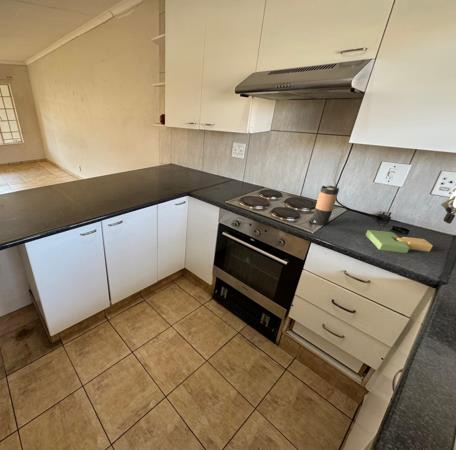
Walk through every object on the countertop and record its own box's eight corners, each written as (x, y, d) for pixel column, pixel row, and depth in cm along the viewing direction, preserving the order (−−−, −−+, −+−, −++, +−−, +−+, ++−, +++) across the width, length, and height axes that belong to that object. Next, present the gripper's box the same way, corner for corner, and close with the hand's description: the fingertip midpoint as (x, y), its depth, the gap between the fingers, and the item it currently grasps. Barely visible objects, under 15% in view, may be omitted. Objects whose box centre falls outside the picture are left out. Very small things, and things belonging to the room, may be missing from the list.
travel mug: (324, 227, 129) (336, 191, 120) (308, 222, 134) (319, 187, 125) (329, 223, 133) (341, 187, 124) (314, 218, 138) (324, 184, 129)
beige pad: (420, 244, 112) (424, 239, 111) (429, 251, 107) (432, 245, 106) (392, 241, 115) (395, 236, 114) (400, 248, 110) (402, 242, 109)
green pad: (390, 237, 118) (392, 232, 117) (407, 253, 106) (410, 247, 105) (365, 235, 121) (367, 229, 120) (379, 249, 109) (382, 244, 108)
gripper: (459, 181, 93) (435, 224, 102) (520, 185, 89) (490, 229, 97) (445, 176, 100) (424, 217, 108) (501, 179, 95) (474, 221, 103)
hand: (455, 222), depth 102 cm, fingers open, 5 cm apart
